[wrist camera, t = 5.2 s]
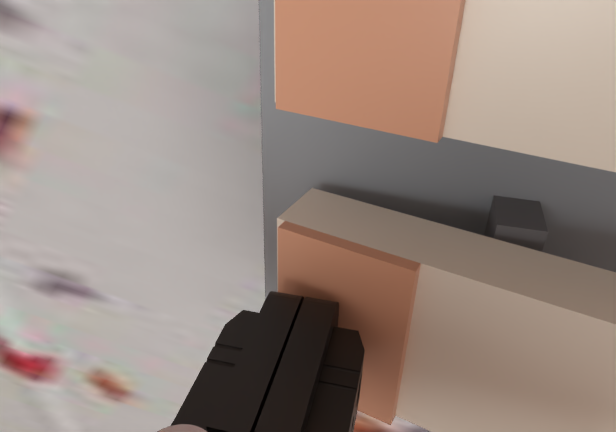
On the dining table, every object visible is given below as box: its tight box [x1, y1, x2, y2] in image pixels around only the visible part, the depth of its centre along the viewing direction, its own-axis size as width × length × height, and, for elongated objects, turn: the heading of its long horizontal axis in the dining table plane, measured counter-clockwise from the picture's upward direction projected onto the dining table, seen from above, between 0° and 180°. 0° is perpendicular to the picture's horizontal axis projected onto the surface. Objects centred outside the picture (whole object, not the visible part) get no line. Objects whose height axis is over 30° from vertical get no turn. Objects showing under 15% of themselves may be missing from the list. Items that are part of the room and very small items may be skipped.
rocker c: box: [277, 188, 616, 432], centre depth 11 cm, size 10×4×2 cm, turn 89°
